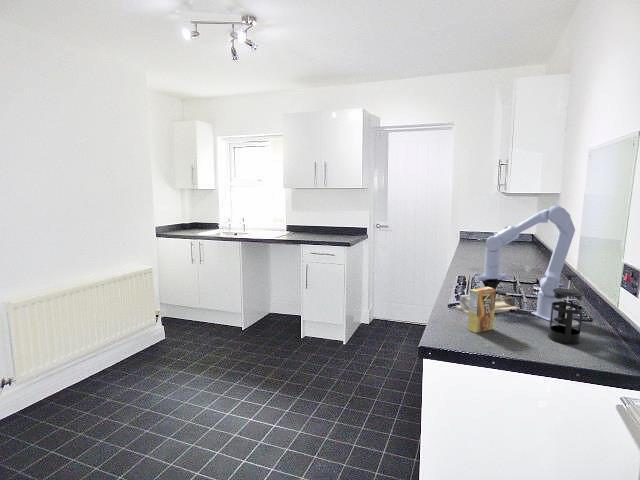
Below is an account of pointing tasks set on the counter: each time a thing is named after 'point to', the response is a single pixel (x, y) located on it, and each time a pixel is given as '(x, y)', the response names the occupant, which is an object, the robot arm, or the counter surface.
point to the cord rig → (500, 304)
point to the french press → (564, 325)
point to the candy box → (481, 309)
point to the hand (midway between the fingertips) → (489, 296)
